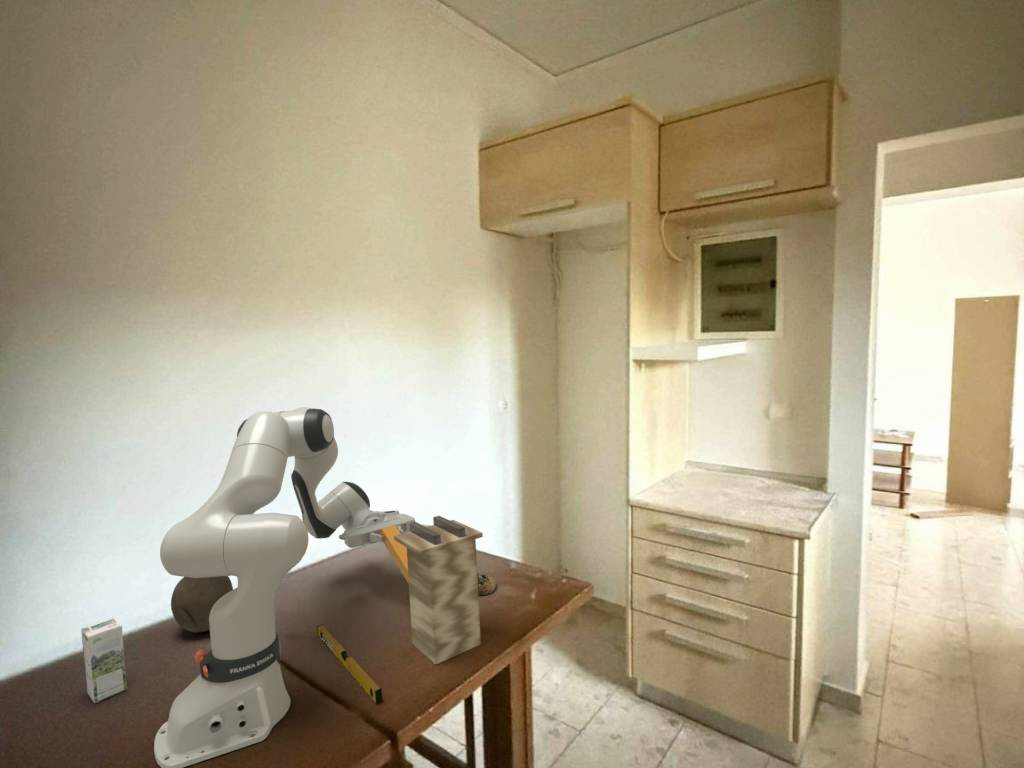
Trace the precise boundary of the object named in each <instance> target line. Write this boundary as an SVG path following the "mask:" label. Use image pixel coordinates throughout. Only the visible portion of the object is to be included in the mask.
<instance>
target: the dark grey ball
mask: <svg viewBox="0 0 1024 768" xmlns="http://www.w3.org/2000/svg"><path fill="white" fill-rule="evenodd" d="M233 589H234V587H233V583H232V580H231V579H230V576H220V577H207V578H190V577H182V578H181V579H180V580H179V581H178V582H177V584H176V585H175V587H174V589H173V592H172V595H171V599H170V609H171V613H172V616H173V618H174V620H175V622H176V623H177V624H178V626H179V627H181V628H182V629H184V630H186V631H189V632H191V633H195V634H196V633H206V632H210V627H209V615H210V611H211V609H212V607H213V605H214V604H215V603H216V602H217V601H218V600H219V599H220V598H221V597H222V596H224V595H225V594H227V593H228V592H230V591H232V590H233Z"/></svg>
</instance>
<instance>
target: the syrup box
mask: <svg viewBox="0 0 1024 768" xmlns="http://www.w3.org/2000/svg"><path fill="white" fill-rule="evenodd" d="M80 631H81V642H82V651H83V653H82V654H83V662H84V673H85V683H86V684H85V685H86V692H87V695H88V696H89V698H90V699H91V701H92V702H93V704H98V703H100V702H102V701H104V700H107V699H109V698H111V697H113V696H116V695H117V694H120V693H122V692H124V691H127V690H128V683H127V672H126V671H127V670H126V663H125V662H126V661H125V649H124V636H123V626H122V625H121V624H120V623H119V622H118V620H117V619H116V618H115V617H111V618H108V619H105V620H103V621H100V622H97V623H94V624H90V625H88V626H85V627H82V628H80Z"/></svg>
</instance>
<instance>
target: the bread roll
mask: <svg viewBox="0 0 1024 768" xmlns="http://www.w3.org/2000/svg"><path fill="white" fill-rule="evenodd" d="M477 578H478V597H481V596H482V595H484V596H487V595H490V594H492V593H493V592H495V591H496V586H497V582H496V581H495V579H494V578H493V577H492V576H489V575H488V574H482V573H479V572H477Z"/></svg>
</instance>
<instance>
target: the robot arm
mask: <svg viewBox="0 0 1024 768" xmlns="http://www.w3.org/2000/svg"><path fill="white" fill-rule="evenodd" d="M338 455H339V447H338V443H337V441H336V438H335V427H334V422H333V419H332V417H331V416H330V414H329V413H328V412H326V411H325V410H323V409H321V408H311V407H299V408H298V407H297V408H295V409H292V410H282V411H281V410H280V411H274V412H272V411H259V412H255V413H254V414H252V415H250V416H249V417H248V418H246V419H245V420H243V421H242V423H241V424H240V425H239V427H238V429H237V433H236V439H235V441H234V444H233V446H232V450H231V453H230V456H229V459H228V462H227V465H226V467H225V471H224V473H223V476H222V478H221V481H220V483H219V485H218V486H217V488H216V490H215V491H214V492H213V493H212V495H211V496H210V497H209V498H208V499H207V501H205V502H204V504H203V505H202V506H200V507H199V508H198V509H197V510H196V511H195V512H193V513H192V514H191V515H189V516H188V517H186V518H185V519H183V520H182V521H180V522H177V523H176V524H174V525H172V527H170V529H169V530H168V531H167V532H166V533H165V535H164V537H163V539H162V542H161V544H160V550H159V558H160V562H161V564H162V566H163V568H164V570H165V571H166V572H167V573H168V574H169V575H171V576H175V577H176V576H177V577H182V578H183V577H190V578H207V577H220V576H228V577H231V576H232V577H236V578H237V587H235V588H233V590H232V591H230V592H228V593H227V594H225V595H224V596H222V597H221V598H220V599H219V600H218V601H217V602H216V603H215V604H214V605H213V607H212V609H211V611H210V615H209V627H210V631H209V635H210V636H209V637H210V648H211V649H210V650H209V651H208V652H207V651H206V650H205V649H200V650H197V651H196V652H195V654H194V660H195V661H194V662H195V663H196V665H199V673H200V674H199V675H198V676H196V677H195V679H194V680H193V681H192V682H191V683H190V684H188V686H187V687H186V688H185V689H183V690H182V691H181V692H180V693H179V694H178V695H177V696H176V697H175V699H174V701H173V702H172V703H171V706H170V710H169V714H168V715H169V716H168V719H167V721H165V722H164V723H163V724H162V725H161V726H160V728H159V729H158V731H157V732H156V734H155V737H154V742H153V743H154V745H153V753H154V758H155V761H156V763H157V765H158V766H159V767H160V768H185V767H188V766H191V765H195V764H198V763H201V762H203V761H206V760H207V761H208V760H210V759H212V758H215V757H218V756H221V755H224V754H227V753H231V752H233V751H236V750H239V749H243V748H245V747H248V746H251V745H253V744H257V743H261V742H263V741H264V740H265V739H266V738H268V736H269V735H270V733H271V731H272V730H273V728H274V727H275V725H276V724H277V723H279V722H280V721H281V720H282V719H283V718H284V717H285V715H286V714H287V712H288V711H289V709H290V706H291V697H290V695H289V693H288V690H287V689H286V686H285V683H284V677H283V674H282V669H281V657H282V653H281V652H282V651H281V642H280V641H281V640H280V638H279V637H280V636H279V634H278V633H277V631H276V628H277V627H276V600H277V599H276V598H277V593H278V590H279V587H280V585H281V583H282V581H283V580H284V579H285V577H286V576H287V574H288V573H289V572H290V571H291V570H293V568H295V567H296V566H297V565H298V564H299V563H300V562H301V561H302V559H304V556H305V554H306V552H307V550H308V546H309V535H311V536H312V537H313V538H315V539H329V538H330V537H331V536H332V535H333V534H335V532H336V531H337V529H338V528H339V527H341V526H342V528H343V529H344V531H343V532H342V533H341V534H339V535H338V539H339V540H340V541H341V540H342V541H344V545H345V546H346V547H348V548H349V549H350V548H358V547H361V546H364V545H368V544H376V543H383V542H384V541H385V535H383V534H381V530H382V529H383V528H386V527H390V526H394V525H395V526H396V527H397V529H398V530H399V532H400V533H401V534H403V533H406V532H410V525H409V523H413V522H416V520H415V518H414V517H413V516H411V515H408V514H405V513H400V511H399V510H397V509H396V510H389V511H388V510H387V511H378V510H376V511H374V510H371V502H370V498H369V496H368V495H367V493H366V492H365V491H364V489H363V488H362V487H360V486H359V485H358V484H356V483H354V482H351V481H341V483H339V484H338V485H337V486H335V487H334V488H333V489H332V490H331V491H329V492H328V493H327V494H326V495H325V496H324V497H322V498H321V499H320V500H319V501H318V500H317V496H316V492H317V488H318V487H319V484H320V483H321V481H322V480H323V479H324V477H325V476H326V475H327V474H328V473H329V472H330V470H331V469H332V468H333V466H334V465H335V464H336V461H337V459H338ZM291 457H294V466H293V467H294V468H293V470H292V473H291V475H290V477H291V478H290V479H291V483H292V487H293V490H294V493H295V497H296V500H297V503H298V506H299V509H300V512H301V516H302V517H299V516H298V515H295V514H288V513H278V512H264V513H262V512H261V513H256V512H257V511H259V510H260V509H262V508H264V507H267V506H268V505H269V504H271V503H272V502H273V501H275V499H277V497H278V496H279V494H280V492H281V490H282V487H283V486H282V485H283V482H284V481H283V480H284V477H285V472H286V467H287V463H288V460H289V459H288V458H291ZM301 518H302V519H301Z"/></svg>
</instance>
